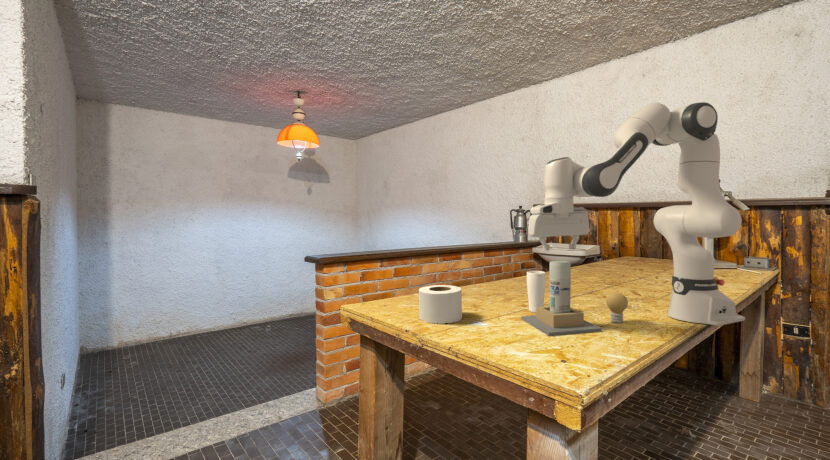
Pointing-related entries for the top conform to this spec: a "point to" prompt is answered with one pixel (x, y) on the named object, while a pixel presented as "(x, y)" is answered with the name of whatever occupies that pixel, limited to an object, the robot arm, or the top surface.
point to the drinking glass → (535, 289)
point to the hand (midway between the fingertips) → (559, 249)
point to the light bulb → (616, 306)
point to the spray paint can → (560, 286)
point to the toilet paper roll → (440, 304)
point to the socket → (560, 322)
